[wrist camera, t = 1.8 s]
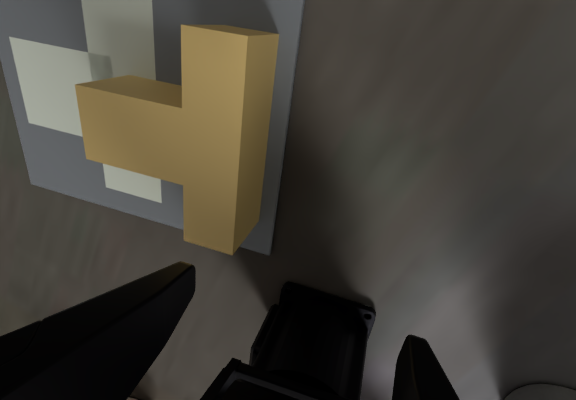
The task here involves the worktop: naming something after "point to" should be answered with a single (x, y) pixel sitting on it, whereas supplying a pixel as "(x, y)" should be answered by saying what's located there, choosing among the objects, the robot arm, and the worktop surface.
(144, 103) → the t block
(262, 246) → the mat
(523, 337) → the worktop surface
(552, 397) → the flask
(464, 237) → the worktop surface
